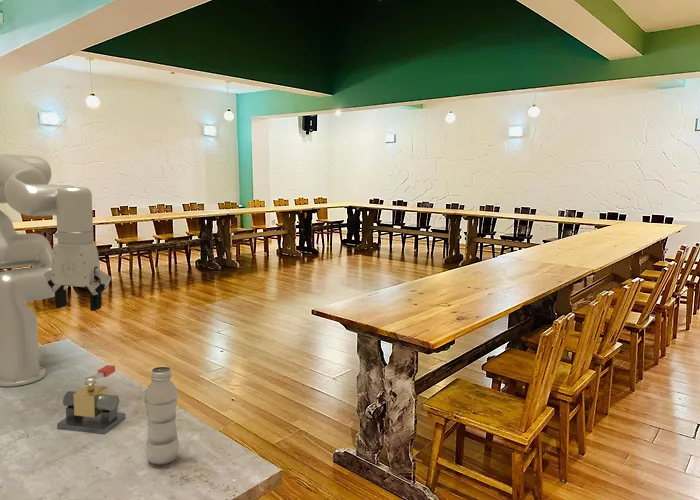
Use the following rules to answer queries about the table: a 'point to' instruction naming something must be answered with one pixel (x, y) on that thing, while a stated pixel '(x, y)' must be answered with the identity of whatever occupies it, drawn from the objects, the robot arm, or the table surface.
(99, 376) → the lever
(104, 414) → the valve
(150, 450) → the plastic bottle
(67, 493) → the table surface
